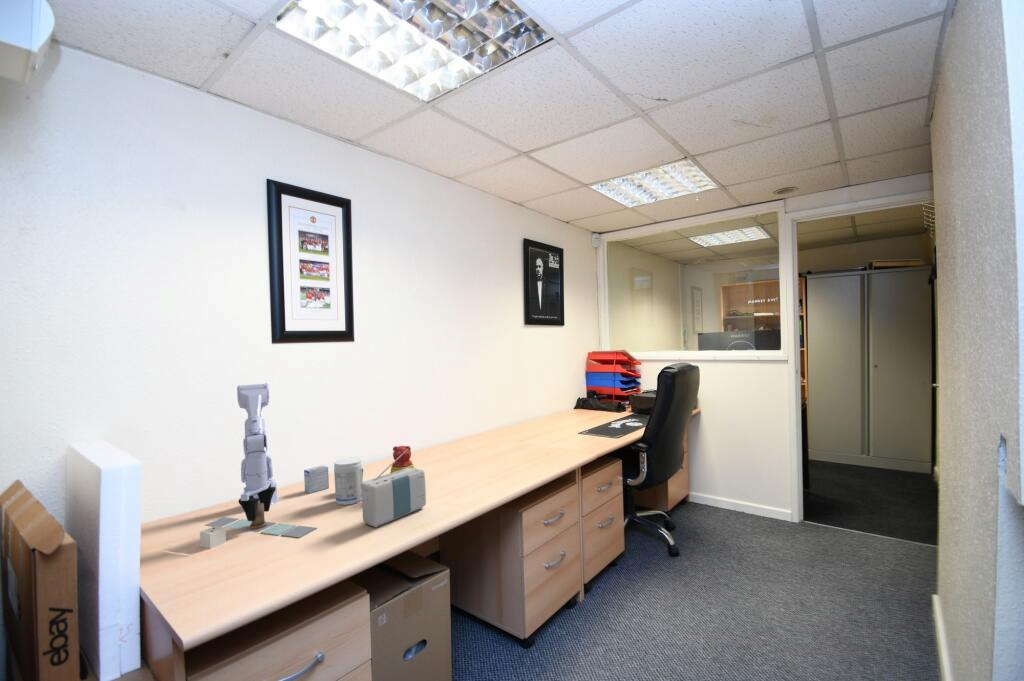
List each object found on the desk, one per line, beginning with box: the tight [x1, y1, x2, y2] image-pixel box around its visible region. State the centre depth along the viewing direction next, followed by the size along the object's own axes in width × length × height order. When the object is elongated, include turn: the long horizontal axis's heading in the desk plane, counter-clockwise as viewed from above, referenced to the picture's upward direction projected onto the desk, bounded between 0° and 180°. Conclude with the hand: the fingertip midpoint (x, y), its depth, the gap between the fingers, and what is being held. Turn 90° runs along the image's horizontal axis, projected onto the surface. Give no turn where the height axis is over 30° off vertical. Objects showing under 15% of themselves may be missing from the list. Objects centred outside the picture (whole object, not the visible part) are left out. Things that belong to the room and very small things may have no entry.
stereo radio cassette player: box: [361, 449, 427, 528], centre depth 150 cm, size 21×8×20 cm, turn 143°
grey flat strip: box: [204, 516, 318, 539], centre depth 145 cm, size 7×39×1 cm, turn 71°
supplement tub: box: [333, 456, 364, 506], centre depth 167 cm, size 10×10×15 cm
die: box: [199, 526, 227, 550], centre depth 133 cm, size 4×4×4 cm
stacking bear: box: [389, 445, 415, 474], centre depth 173 cm, size 11×10×18 cm
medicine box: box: [303, 464, 330, 494], centre depth 181 cm, size 8×4×9 cm, turn 141°
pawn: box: [249, 503, 268, 530], centre depth 145 cm, size 5×5×7 cm
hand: (258, 515), depth 145 cm, fingers open, 7 cm apart
